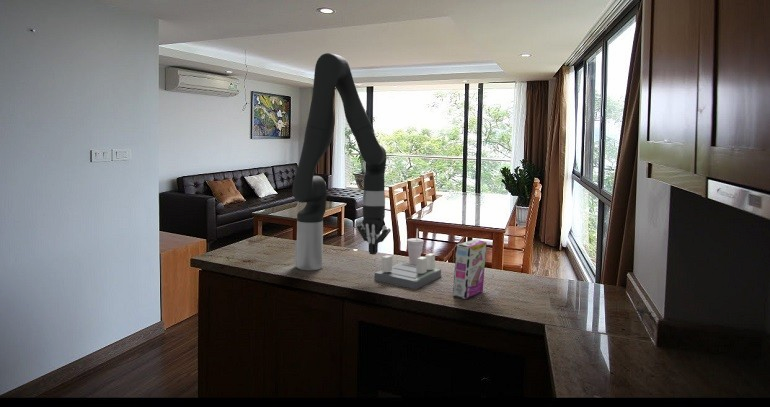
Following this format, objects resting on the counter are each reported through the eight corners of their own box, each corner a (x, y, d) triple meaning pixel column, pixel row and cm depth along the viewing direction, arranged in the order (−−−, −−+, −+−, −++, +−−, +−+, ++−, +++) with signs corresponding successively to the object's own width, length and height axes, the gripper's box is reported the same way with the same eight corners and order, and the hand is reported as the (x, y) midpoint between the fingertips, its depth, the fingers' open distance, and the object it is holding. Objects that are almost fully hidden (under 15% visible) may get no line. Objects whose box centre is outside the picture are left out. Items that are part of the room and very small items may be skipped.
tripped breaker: (381, 271, 158) (382, 256, 157) (387, 269, 161) (387, 255, 160) (386, 272, 157) (387, 257, 156) (392, 270, 160) (392, 255, 159)
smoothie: (421, 267, 176) (423, 230, 174) (404, 266, 177) (406, 229, 175) (423, 263, 182) (425, 227, 180) (407, 261, 183) (408, 226, 181)
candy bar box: (466, 300, 141) (469, 246, 139) (452, 296, 144) (455, 244, 142) (484, 292, 149) (487, 241, 147) (470, 288, 153) (473, 238, 150)
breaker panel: (374, 279, 158) (375, 256, 157) (401, 268, 173) (402, 247, 172) (416, 289, 150) (417, 264, 149) (440, 276, 165) (441, 254, 164)
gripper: (351, 203, 159) (351, 253, 161) (384, 206, 152) (383, 259, 154) (364, 201, 165) (363, 249, 167) (396, 204, 158) (395, 254, 160)
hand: (373, 254), depth 161 cm, fingers closed
